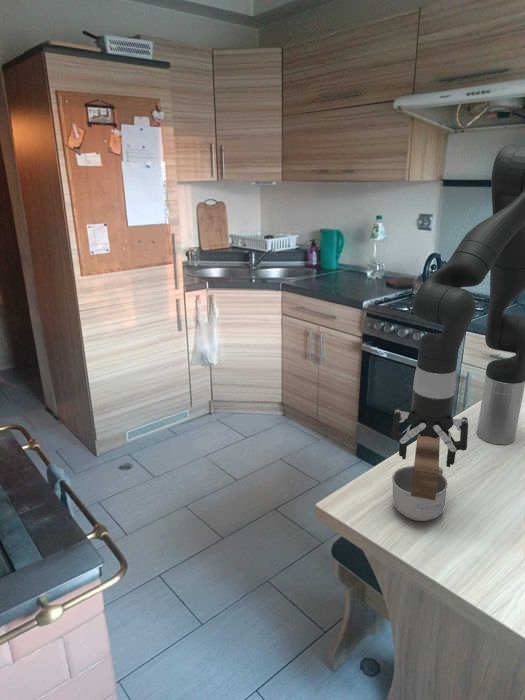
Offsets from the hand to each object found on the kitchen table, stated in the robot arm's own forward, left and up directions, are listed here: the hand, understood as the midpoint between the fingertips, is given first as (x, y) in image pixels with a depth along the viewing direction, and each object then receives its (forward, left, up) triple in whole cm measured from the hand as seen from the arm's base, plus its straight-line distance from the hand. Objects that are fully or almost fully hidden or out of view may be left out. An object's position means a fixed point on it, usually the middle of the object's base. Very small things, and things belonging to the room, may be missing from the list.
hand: (425, 461), depth 100 cm
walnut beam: (0, 0, -4) cm, 4 cm away
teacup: (0, 0, -12) cm, 12 cm away
